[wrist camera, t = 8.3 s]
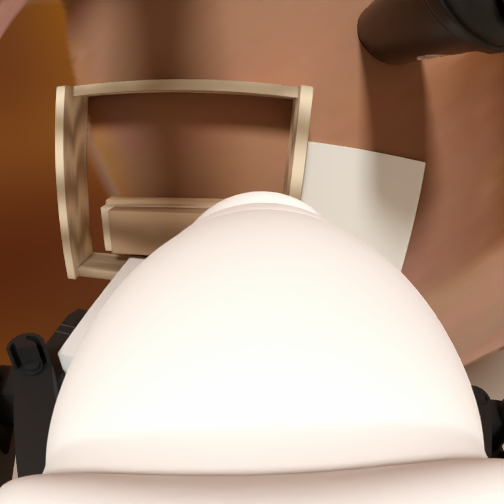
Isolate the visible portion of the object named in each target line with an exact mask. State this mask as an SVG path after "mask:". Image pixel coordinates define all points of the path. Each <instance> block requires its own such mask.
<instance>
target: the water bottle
mask: <svg viewBox="0 0 504 504" xmlns="http://www.w3.org/2000/svg"><path fill="white" fill-rule="evenodd" d="M357 30H358V35H359V38H360V40H361V42H362V44H363V46H364V47H365V48H366V50H367V51H368V52H369V53H370V54H371V55H372V56H374V57H375V58H377V59H378V60H380V61H382V62H385V63H388V64H403V63H407V62H412V61H417V60H425V59H430V58H436V57H439V56H440V57H442V56H445V55H447V56H448V55H455V54H458V53H459V54H461V53H465V52H473V51H479V52H484V53H488V54H494V53H503V52H504V0H374V1H373V2H372V3H371V4H370V5H369V6H368V7H367V8H366V9H365V10H364V11H363V12H362V14H361V15H360V17H359V20H358V24H357Z"/></svg>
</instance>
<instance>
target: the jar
mask: <svg viewBox="0 0 504 504" xmlns="http://www.w3.org/2000/svg"><path fill="white" fill-rule="evenodd" d="M0 504H504V459H500V458H488V457H487V455H486V453H485V450H484V439H483V431H482V425H481V419H480V415H479V410H478V406H477V403H476V399H475V396H474V393H473V390H472V387H471V384H470V382H469V379H468V377H467V374H466V372H465V369H464V367H463V365H462V362H461V360H460V358H459V356H458V354H457V352H456V350H455V348H454V346H453V344H452V342H451V340H450V338H449V336H448V335H447V333H446V331H445V329H444V328H443V326H442V324H441V323H440V321H439V320H438V318H437V316H436V315H435V313H434V312H433V311H432V309H431V308H430V306H429V305H428V303H427V302H426V301H425V299H424V298H423V297H422V296H421V294H420V293H419V292H418V291H417V289H416V288H415V287H414V286H413V285H412V284H411V282H410V281H409V280H408V279H407V278H406V277H405V276H404V275H403V274H402V273H401V272H400V271H399V270H398V269H397V268H396V267H395V266H394V265H393V264H392V263H391V262H389V261H388V260H387V259H386V258H385V257H384V256H382V255H381V254H380V253H379V252H377V251H376V250H375V249H373V248H372V247H371V246H369V245H368V244H367V243H365V242H364V241H362V240H360V239H359V238H357V237H356V236H354V235H352V234H351V233H349V232H347V231H345V230H343V229H341V228H340V227H339V226H337V225H336V224H334V223H332V222H331V221H329V220H327V219H325V218H323V217H322V216H321V215H320V214H319V213H318V212H317V211H316V210H314V209H313V208H312V207H310V206H309V205H307V204H306V203H304V202H302V201H300V200H298V199H296V198H294V197H291V196H288V195H285V194H280V193H275V192H263V191H261V192H248V193H243V194H238V195H235V196H232V197H229V198H227V199H224V200H222V201H220V202H218V203H217V204H215V205H213V206H212V207H210V208H209V209H208V210H206V211H205V212H204V213H203V214H202V215H201V216H200V217H199V218H198V219H197V220H196V221H195V222H194V223H193V224H192V225H190V226H189V227H187V228H186V229H184V230H183V231H182V232H180V233H179V234H178V235H177V236H175V237H174V238H172V239H171V240H169V241H168V242H166V243H165V244H163V245H162V246H161V247H159V248H158V249H157V250H156V251H154V252H153V253H152V254H151V255H149V256H148V257H147V258H146V259H145V260H144V261H143V262H141V263H140V264H139V265H138V266H137V267H136V268H135V269H134V270H133V271H132V272H131V273H130V274H129V275H128V276H127V277H126V278H125V279H124V280H123V282H122V283H121V284H120V285H119V286H118V287H117V289H116V290H115V291H114V292H113V293H112V295H111V296H110V297H109V299H108V300H107V301H106V303H105V304H104V305H103V307H102V308H101V310H100V311H99V312H98V314H97V315H96V317H95V319H94V320H93V322H92V323H91V325H90V327H89V328H88V330H87V332H86V334H85V335H84V337H83V339H82V341H81V343H80V345H79V347H78V349H77V351H76V353H75V355H74V357H73V359H72V361H71V364H70V366H69V368H68V371H67V373H66V375H65V378H64V380H63V383H62V386H61V389H60V391H59V394H58V397H57V400H56V404H55V407H54V411H53V414H52V418H51V423H50V428H49V433H48V440H47V448H46V466H45V469H44V471H43V473H42V474H37V475H30V476H24V477H20V478H16V479H13V480H11V481H9V482H7V483H5V484H4V485H2V486H1V487H0Z"/></svg>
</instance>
